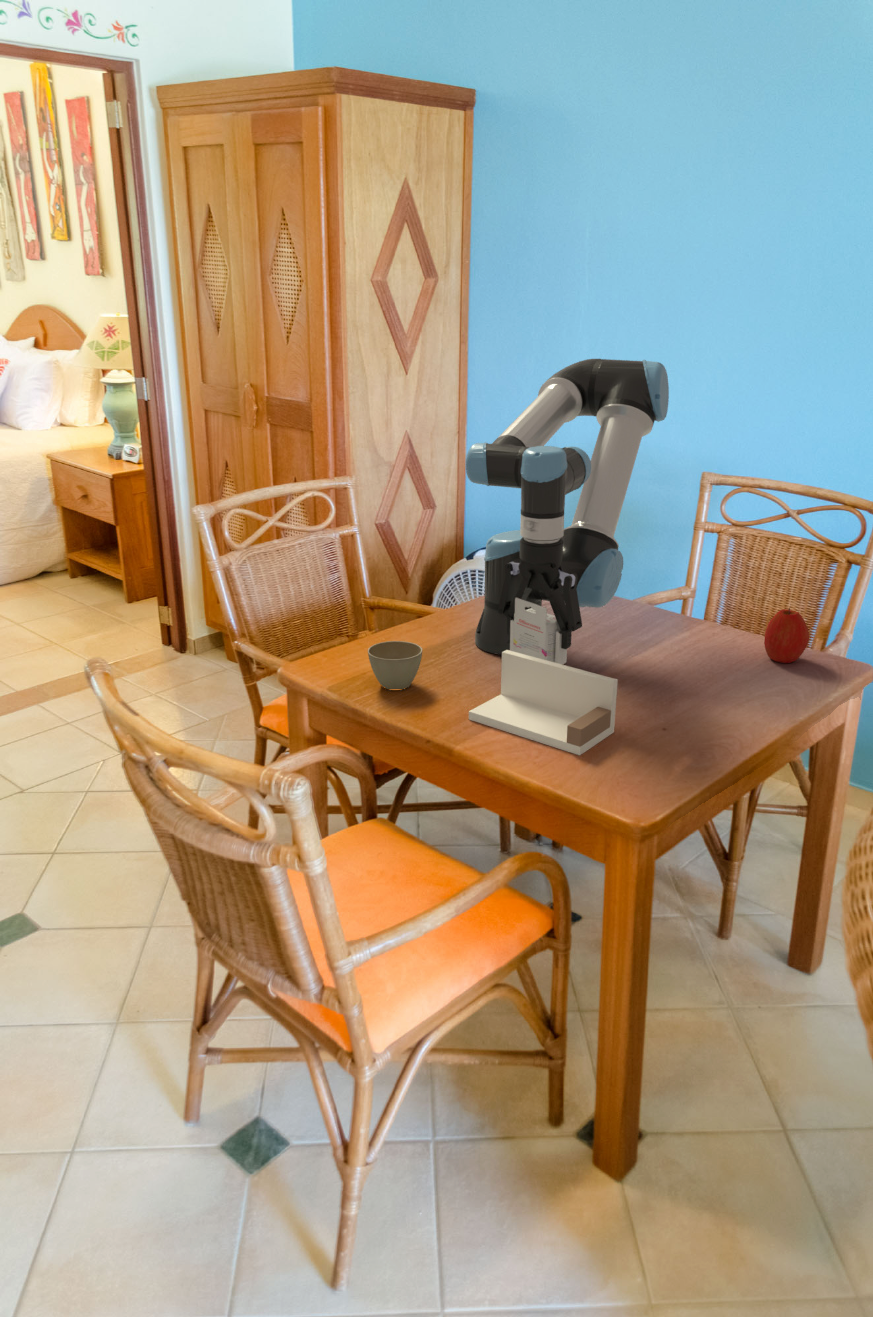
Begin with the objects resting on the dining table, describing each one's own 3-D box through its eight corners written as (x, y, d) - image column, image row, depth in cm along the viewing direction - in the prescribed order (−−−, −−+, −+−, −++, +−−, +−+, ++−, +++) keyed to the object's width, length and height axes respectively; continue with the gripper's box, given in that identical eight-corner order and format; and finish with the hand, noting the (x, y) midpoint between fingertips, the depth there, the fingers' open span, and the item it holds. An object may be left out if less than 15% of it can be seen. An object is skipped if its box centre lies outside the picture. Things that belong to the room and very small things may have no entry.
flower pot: (431, 680, 190) (431, 645, 187) (407, 700, 182) (407, 663, 179) (384, 672, 194) (383, 637, 191) (358, 690, 186) (357, 654, 183)
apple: (811, 658, 201) (818, 607, 197) (795, 670, 195) (802, 617, 191) (771, 649, 206) (777, 598, 202) (754, 660, 200) (760, 608, 196)
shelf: (468, 719, 174) (469, 667, 171) (505, 699, 182) (506, 649, 179) (579, 755, 161) (582, 700, 158) (613, 732, 169) (617, 679, 166)
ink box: (563, 679, 185) (567, 602, 179) (544, 686, 182) (546, 608, 176) (531, 665, 191) (533, 591, 185) (511, 672, 188) (513, 596, 182)
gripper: (478, 532, 180) (477, 650, 188) (584, 553, 167) (578, 678, 176) (502, 523, 185) (500, 638, 194) (607, 543, 173) (600, 665, 181)
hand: (537, 657), depth 185 cm, fingers closed on ink box, 9 cm apart
